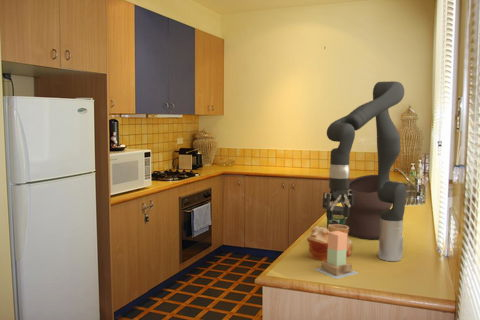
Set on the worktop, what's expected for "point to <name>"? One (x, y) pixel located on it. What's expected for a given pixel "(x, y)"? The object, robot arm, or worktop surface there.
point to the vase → (365, 208)
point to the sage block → (336, 257)
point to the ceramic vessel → (325, 241)
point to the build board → (336, 276)
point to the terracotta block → (337, 240)
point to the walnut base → (336, 268)
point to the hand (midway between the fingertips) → (338, 218)
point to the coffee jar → (337, 216)
